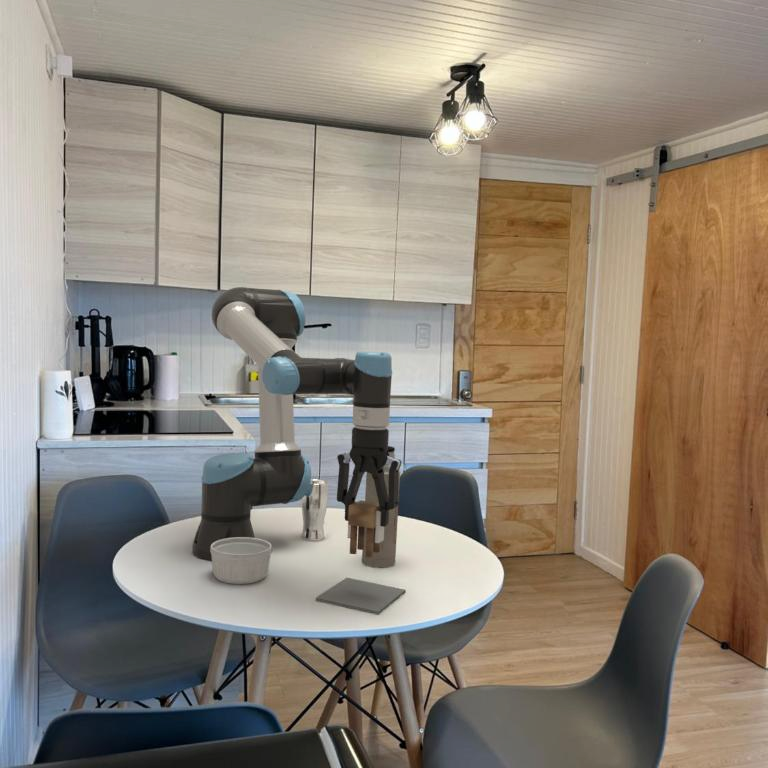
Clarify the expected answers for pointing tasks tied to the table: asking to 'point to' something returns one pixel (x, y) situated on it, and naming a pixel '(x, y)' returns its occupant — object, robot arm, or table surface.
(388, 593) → the mat
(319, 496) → the silver cocktail shaker
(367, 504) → the stool
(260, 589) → the table surface
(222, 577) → the ramekin
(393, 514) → the thermos bottle
